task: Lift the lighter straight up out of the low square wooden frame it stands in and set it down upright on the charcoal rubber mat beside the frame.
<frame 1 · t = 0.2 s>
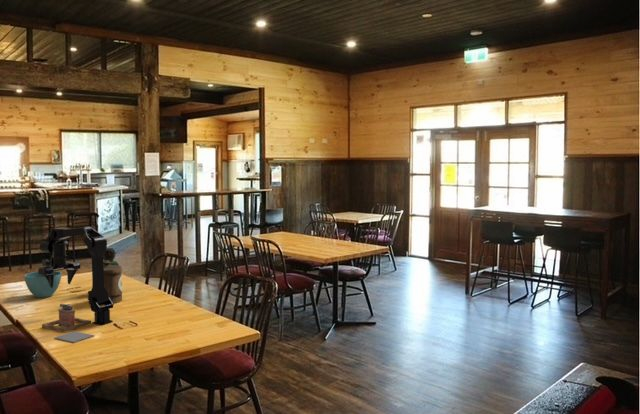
hand: (60, 285, 262), 14 cm above the table, tool pointing down, fingers open, 9 cm apart
square wooden frame: (67, 325, 246), on the table
wooden container: (107, 301, 292), on the table
teal bowl: (43, 296, 301), on the table
charcoal mat: (74, 337, 230), on the table
lighter: (67, 326, 246), resting in square wooden frame
spray bottle: (109, 292, 312), on the table
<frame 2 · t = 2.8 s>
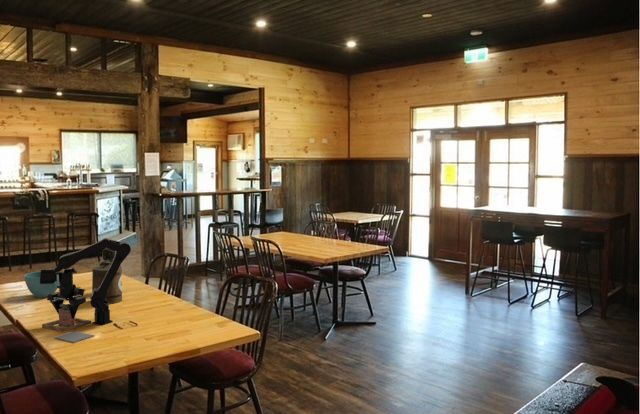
hand: (66, 317, 246), 4 cm above the table, tool pointing down, fingers closed on lighter, 8 cm apart
lighter: (67, 326, 246), resting in square wooden frame, touching gripper
everything else where it was.
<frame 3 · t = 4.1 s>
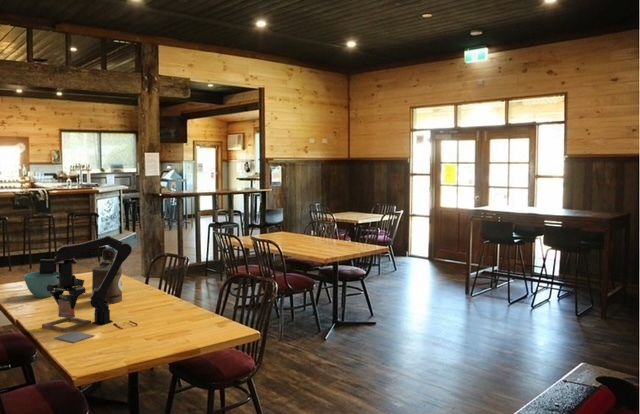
hand: (66, 307, 246), 8 cm above the table, tool pointing down, fingers closed on lighter, 8 cm apart
lighter: (66, 317, 246), point 4 cm above the table, touching gripper
everything else where it was.
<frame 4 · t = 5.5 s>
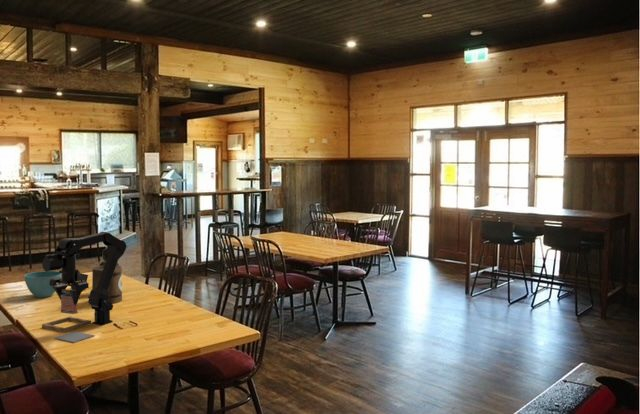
hand: (69, 303, 237), 13 cm above the table, tool pointing down, fingers closed on lighter, 8 cm apart
lighter: (69, 312, 237), point 8 cm above the table, touching gripper
everything else where it was.
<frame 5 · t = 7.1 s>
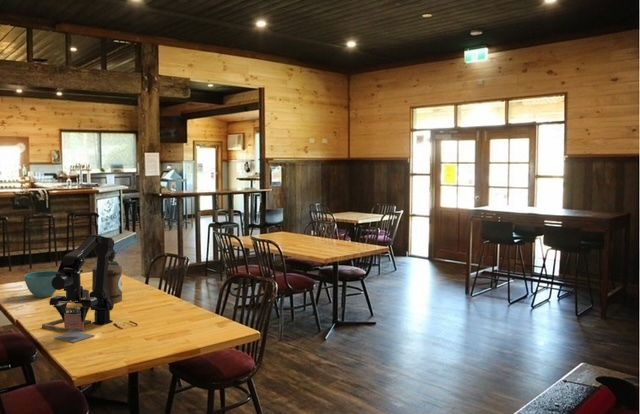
hand: (74, 321, 230), 7 cm above the table, tool pointing down, fingers closed on lighter, 8 cm apart
lighter: (74, 331, 230), point 3 cm above the table, touching gripper
everything else where it was.
when the fingers open (5 cm above the table, at t = 8.4 s): lighter stays where it is, resting on charcoal mat.
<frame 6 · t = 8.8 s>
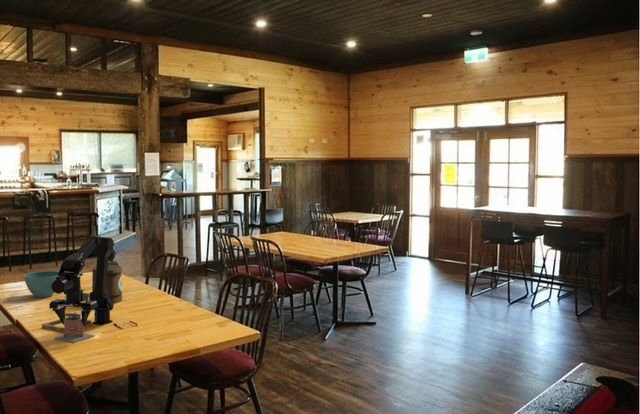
hand: (74, 324, 230), 5 cm above the table, tool pointing down, fingers open, 9 cm apart
lighter: (74, 336, 230), resting on charcoal mat
everything else where it was.
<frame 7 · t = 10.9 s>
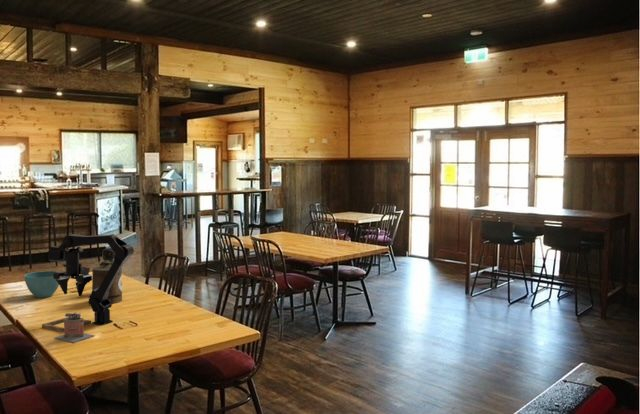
hand: (72, 295, 252), 13 cm above the table, tool pointing down, fingers open, 9 cm apart
nothing on the table moved.
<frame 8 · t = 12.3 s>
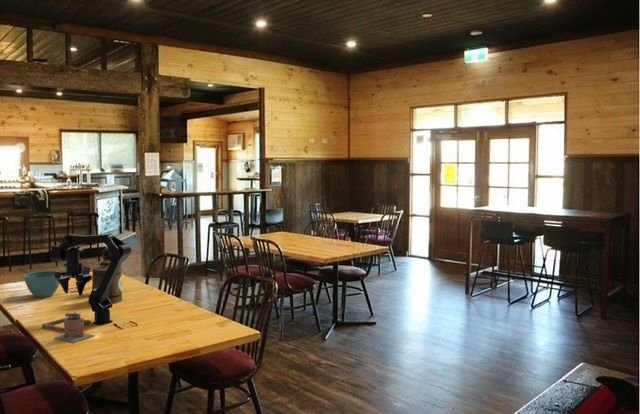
hand: (73, 294, 253), 12 cm above the table, tool pointing down, fingers open, 9 cm apart
nothing on the table moved.
at the end: lighter inside the target area on the charcoal mat (0.1 cm from its centre), point 0.3 cm above the charcoal mat's base; lighter tilted 0°; the gripper is holding nothing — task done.
